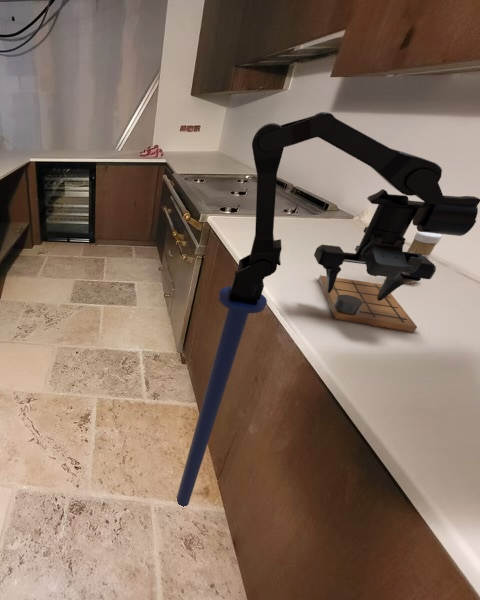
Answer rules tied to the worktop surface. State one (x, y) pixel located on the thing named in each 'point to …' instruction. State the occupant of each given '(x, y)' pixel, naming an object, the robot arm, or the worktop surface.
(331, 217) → the worktop surface
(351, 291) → the board
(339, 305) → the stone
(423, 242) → the sprinkles bottle
